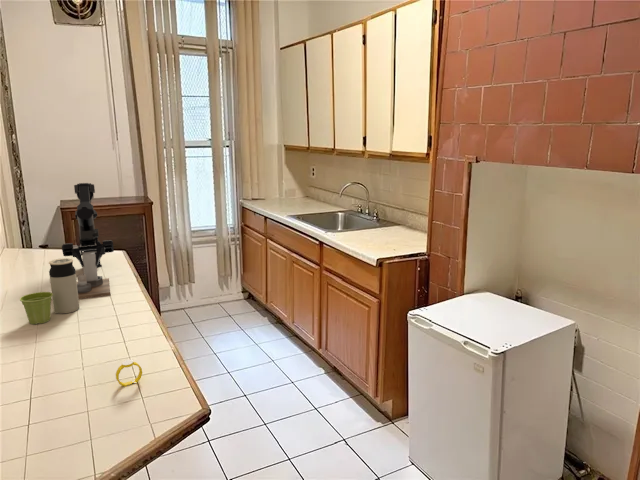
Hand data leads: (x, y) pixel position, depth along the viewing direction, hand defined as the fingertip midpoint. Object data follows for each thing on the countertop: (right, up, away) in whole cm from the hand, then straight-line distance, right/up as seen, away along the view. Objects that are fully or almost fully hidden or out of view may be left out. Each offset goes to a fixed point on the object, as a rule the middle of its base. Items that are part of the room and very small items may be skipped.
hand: (89, 265), depth 189 cm
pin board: (0, -10, -1) cm, 10 cm away
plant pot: (-1, -17, -32) cm, 36 cm away
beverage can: (-1, -7, +3) cm, 7 cm away
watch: (+45, -26, -71) cm, 88 cm away
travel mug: (+3, -15, -22) cm, 27 cm away
